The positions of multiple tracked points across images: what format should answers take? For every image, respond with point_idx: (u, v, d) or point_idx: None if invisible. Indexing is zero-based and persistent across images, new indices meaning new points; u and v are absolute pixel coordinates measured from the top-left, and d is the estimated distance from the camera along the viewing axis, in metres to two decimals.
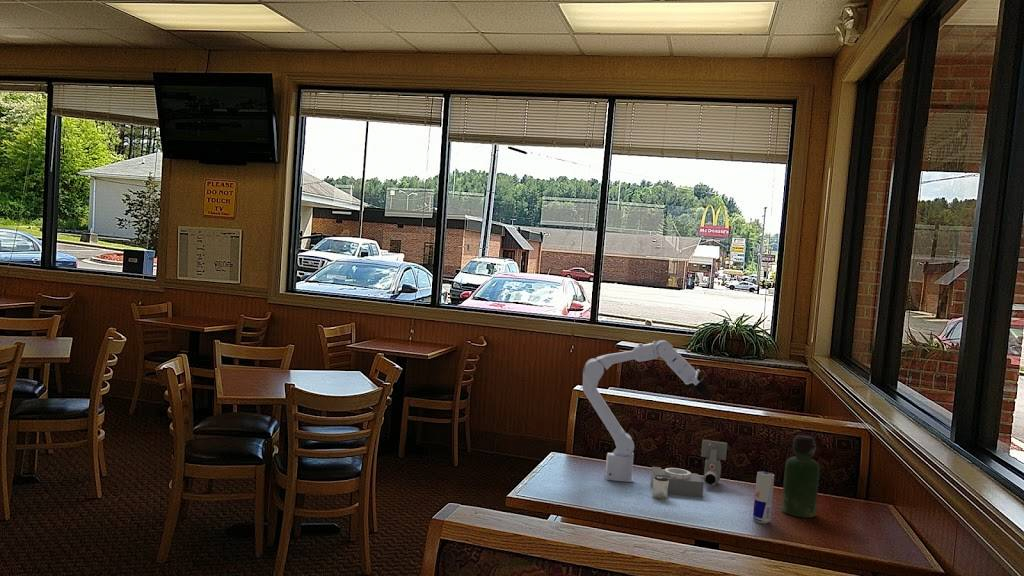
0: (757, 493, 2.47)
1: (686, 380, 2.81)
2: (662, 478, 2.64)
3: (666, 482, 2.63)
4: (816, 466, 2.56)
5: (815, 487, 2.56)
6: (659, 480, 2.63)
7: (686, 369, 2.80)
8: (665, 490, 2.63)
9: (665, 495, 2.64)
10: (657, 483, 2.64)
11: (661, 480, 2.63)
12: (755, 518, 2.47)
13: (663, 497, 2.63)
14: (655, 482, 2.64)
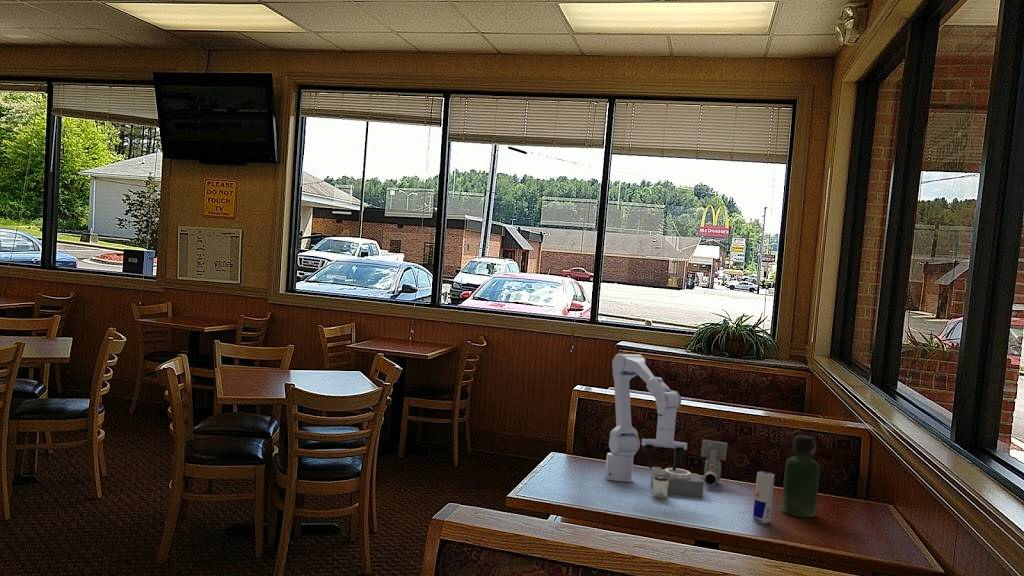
0: (757, 493, 2.47)
1: None
2: (662, 478, 2.64)
3: (666, 482, 2.63)
4: (816, 466, 2.56)
5: (815, 487, 2.56)
6: (659, 480, 2.63)
7: (657, 430, 2.64)
8: (665, 490, 2.64)
9: (665, 495, 2.64)
10: (657, 483, 2.64)
11: (661, 480, 2.63)
12: (755, 518, 2.47)
13: (663, 497, 2.63)
14: (655, 482, 2.64)
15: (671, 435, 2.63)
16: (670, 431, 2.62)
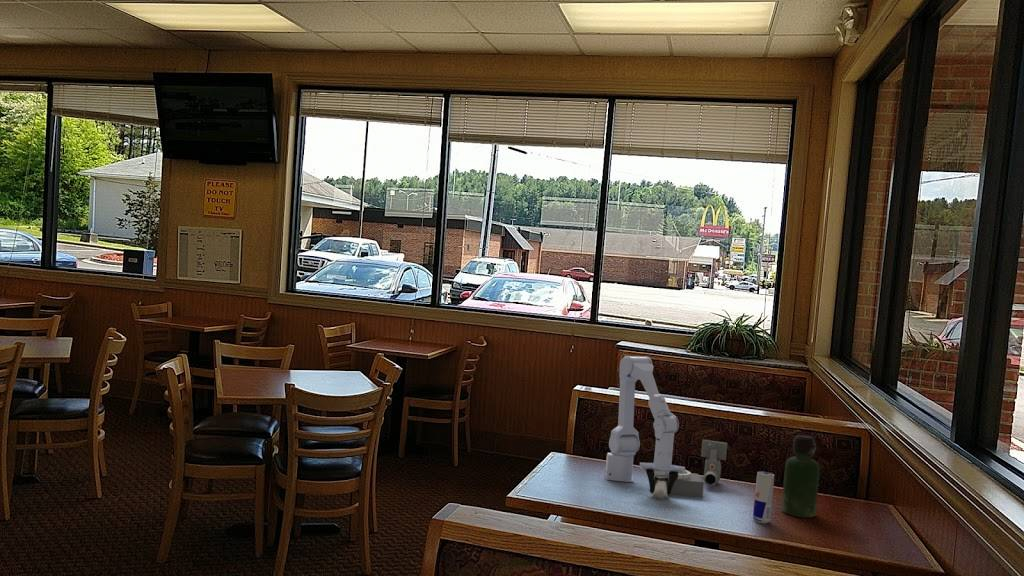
0: (757, 493, 2.47)
1: None
2: (662, 478, 2.64)
3: (666, 482, 2.63)
4: (816, 466, 2.56)
5: (815, 487, 2.56)
6: (659, 480, 2.63)
7: (655, 454, 2.65)
8: (665, 490, 2.63)
9: (665, 495, 2.64)
10: (657, 483, 2.64)
11: (661, 480, 2.63)
12: (755, 518, 2.47)
13: (663, 497, 2.63)
14: (655, 482, 2.64)
15: (669, 459, 2.63)
16: (668, 455, 2.63)
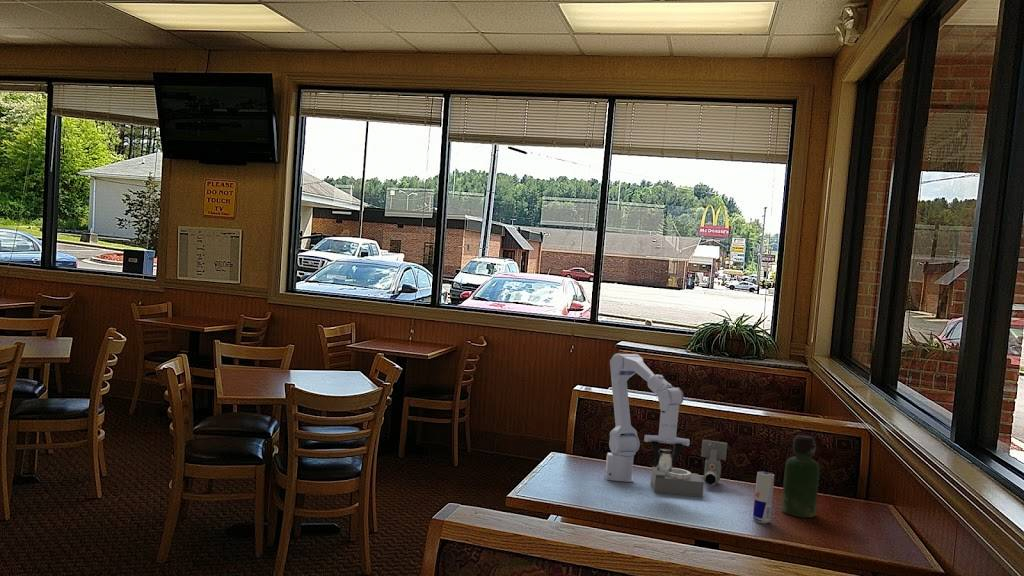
0: (757, 493, 2.47)
1: None
2: (667, 451, 2.66)
3: (671, 455, 2.65)
4: (816, 466, 2.56)
5: (815, 487, 2.56)
6: (664, 453, 2.65)
7: (660, 427, 2.66)
8: (669, 463, 2.65)
9: (669, 468, 2.65)
10: (662, 456, 2.65)
11: (666, 452, 2.64)
12: (755, 518, 2.47)
13: (667, 470, 2.64)
14: (660, 455, 2.65)
15: (673, 431, 2.64)
16: (672, 427, 2.64)
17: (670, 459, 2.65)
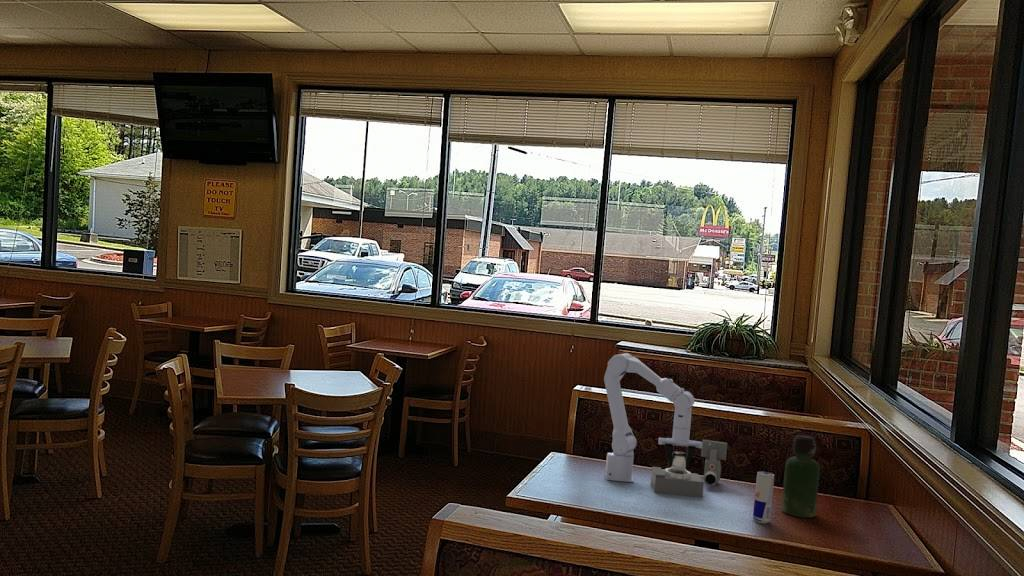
0: (757, 493, 2.47)
1: None
2: (680, 454, 2.74)
3: (684, 457, 2.73)
4: (816, 466, 2.56)
5: (815, 487, 2.56)
6: (677, 455, 2.73)
7: (673, 430, 2.75)
8: (683, 465, 2.73)
9: (683, 470, 2.74)
10: (675, 458, 2.74)
11: (679, 455, 2.73)
12: (755, 518, 2.47)
13: (681, 472, 2.73)
14: (673, 457, 2.74)
15: (687, 434, 2.73)
16: (686, 430, 2.73)
17: (683, 462, 2.73)
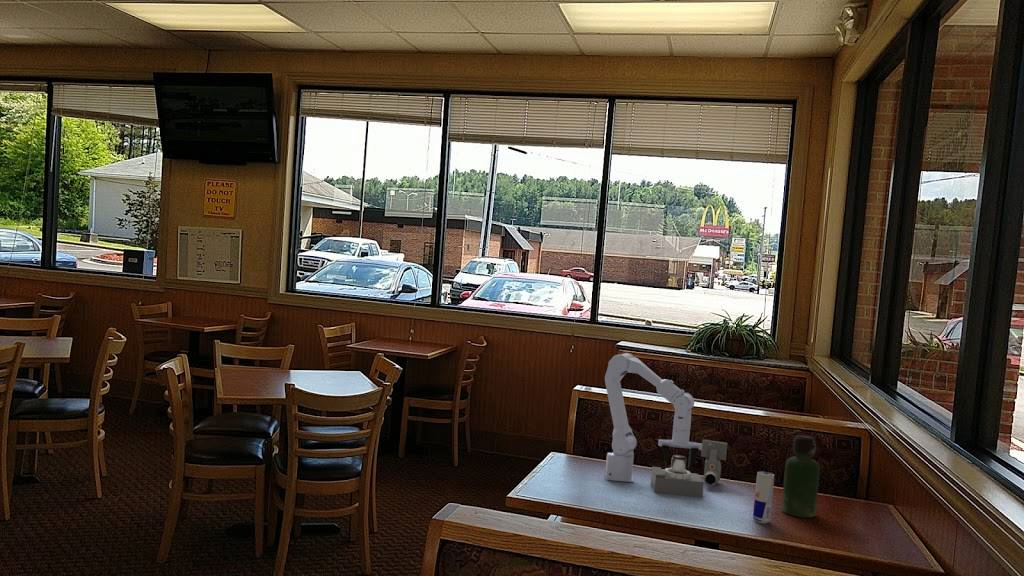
0: (757, 493, 2.47)
1: None
2: (680, 457, 2.75)
3: (683, 461, 2.74)
4: (816, 466, 2.56)
5: (815, 487, 2.56)
6: (677, 459, 2.74)
7: (673, 431, 2.75)
8: (682, 469, 2.74)
9: (682, 473, 2.74)
10: (675, 462, 2.74)
11: (679, 459, 2.74)
12: (755, 518, 2.47)
13: None
14: (673, 461, 2.75)
15: (687, 436, 2.73)
16: (686, 432, 2.73)
17: (683, 465, 2.74)
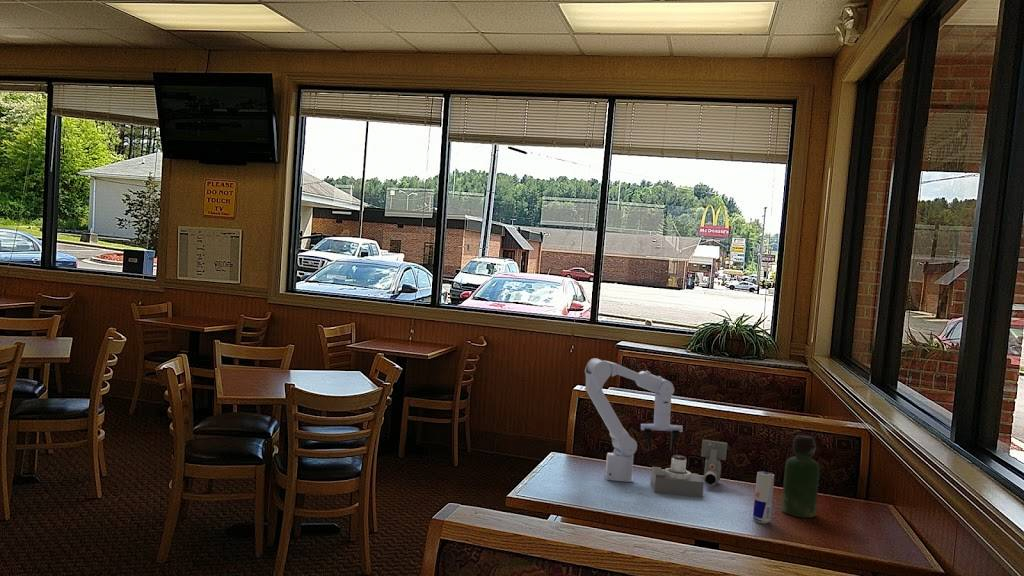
0: (757, 493, 2.47)
1: None
2: (680, 457, 2.75)
3: (683, 461, 2.74)
4: (816, 466, 2.56)
5: (815, 487, 2.56)
6: (676, 459, 2.74)
7: (654, 415, 2.87)
8: (682, 469, 2.74)
9: (682, 473, 2.74)
10: (675, 462, 2.74)
11: (678, 458, 2.74)
12: (755, 518, 2.47)
13: None
14: (673, 461, 2.75)
15: (667, 419, 2.85)
16: (666, 416, 2.85)
17: (683, 465, 2.74)
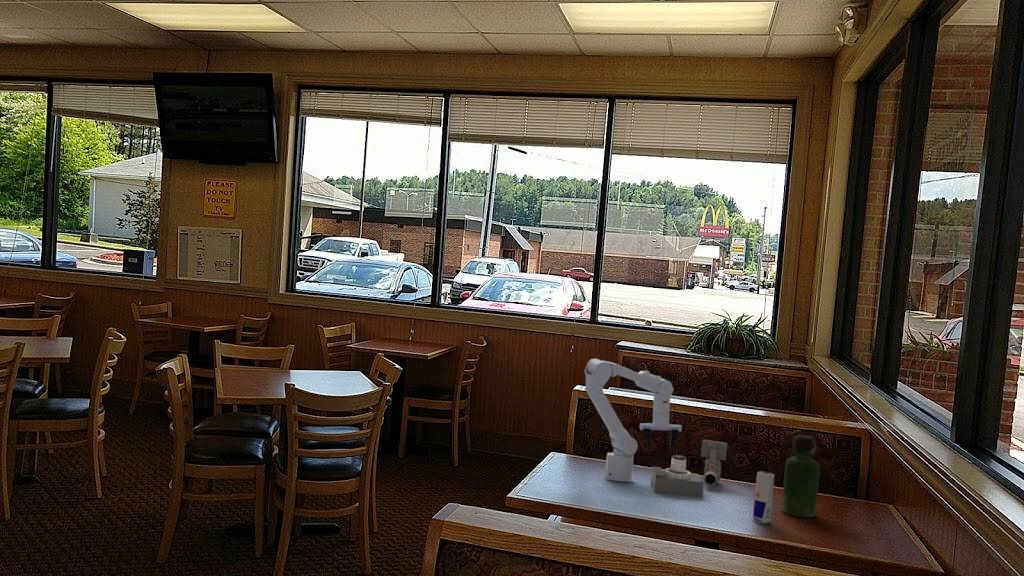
0: (757, 493, 2.47)
1: None
2: (679, 457, 2.75)
3: (683, 461, 2.73)
4: (816, 466, 2.56)
5: (815, 487, 2.56)
6: (676, 459, 2.74)
7: (653, 415, 2.87)
8: (682, 469, 2.73)
9: (682, 473, 2.74)
10: (674, 462, 2.74)
11: (678, 459, 2.73)
12: (755, 518, 2.47)
13: None
14: (673, 461, 2.75)
15: (666, 418, 2.86)
16: (665, 415, 2.85)
17: (683, 465, 2.73)
